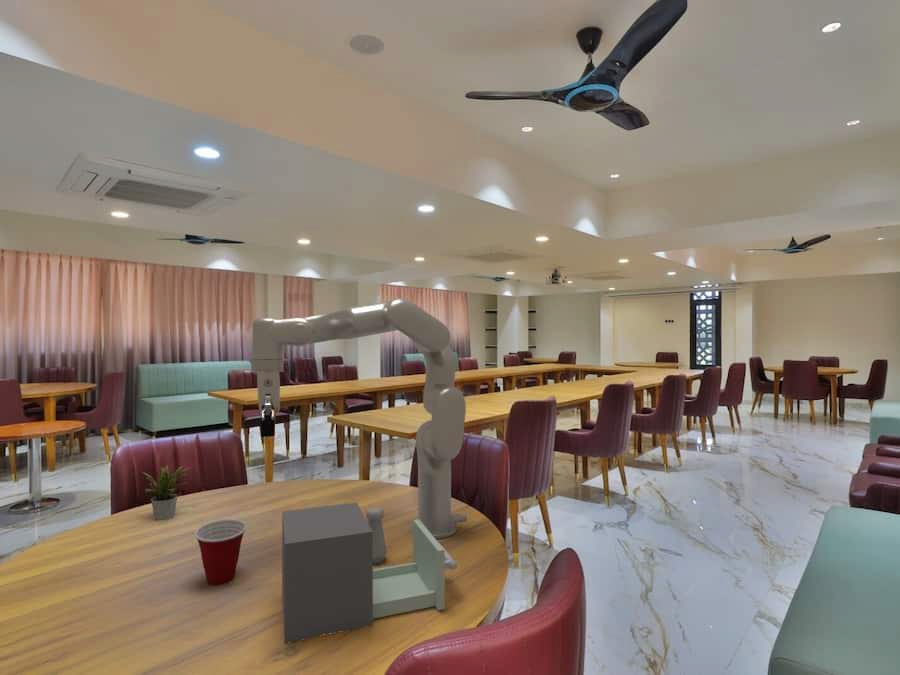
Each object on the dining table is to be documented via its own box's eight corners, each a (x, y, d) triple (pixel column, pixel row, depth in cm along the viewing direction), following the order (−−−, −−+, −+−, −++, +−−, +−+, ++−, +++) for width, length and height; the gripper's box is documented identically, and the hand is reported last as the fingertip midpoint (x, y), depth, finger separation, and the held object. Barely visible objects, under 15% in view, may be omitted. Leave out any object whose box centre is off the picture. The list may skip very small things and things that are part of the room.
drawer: (435, 567, 116) (435, 517, 117) (463, 605, 100) (463, 546, 100) (350, 581, 109) (350, 528, 110) (364, 625, 93) (364, 562, 93)
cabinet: (356, 582, 110) (356, 502, 110) (372, 625, 93) (372, 531, 93) (282, 595, 104) (282, 511, 105) (284, 643, 88) (284, 543, 88)
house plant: (203, 515, 152) (203, 463, 153) (157, 529, 141) (157, 473, 141) (178, 507, 160) (178, 457, 160) (132, 520, 148) (133, 466, 148)
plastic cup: (194, 596, 104) (194, 540, 104) (194, 575, 113) (194, 523, 113) (248, 584, 109) (248, 531, 109) (244, 565, 118) (244, 516, 118)
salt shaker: (382, 567, 117) (381, 513, 117) (359, 565, 118) (359, 511, 118) (389, 556, 123) (389, 505, 123) (368, 555, 124) (368, 504, 124)
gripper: (284, 367, 118) (284, 438, 117) (282, 364, 134) (282, 426, 134) (251, 368, 115) (250, 440, 115) (253, 364, 131) (253, 428, 131)
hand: (268, 432), depth 124 cm, fingers open, 9 cm apart
